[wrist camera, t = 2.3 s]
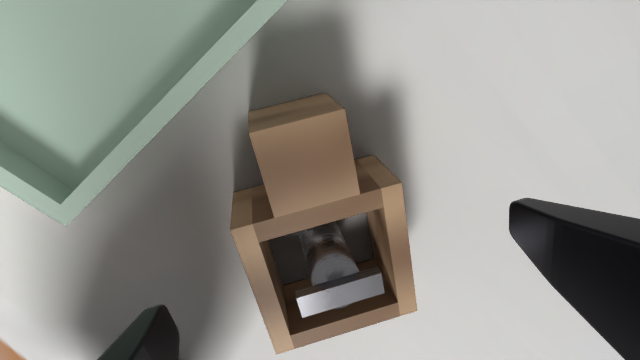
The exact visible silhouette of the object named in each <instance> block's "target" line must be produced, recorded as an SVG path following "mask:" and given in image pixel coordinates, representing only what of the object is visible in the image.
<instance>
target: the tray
mask: <svg viewBox="0 0 640 360" xmlns="http://www.w3.org/2000/svg"><path fill="white" fill-rule="evenodd" d="M286 1H287V0H0V186H1V187H2V188H4V189H5V190H7V191H9V192H10V193H12V194H13V195H15V196H17V197H18V198H20V199H22V200H23V201H25V202H26V203H28V204H30V205H31V206H33V207H35V208H36V209H38V210H39V211H41V212H43V213H44V214H46V215H47V216H49V217H51V218H52V219H54V220H56V221H57V222H59V223H60V224H62V225H64V226H65V227H66V226H67V225H68V224H69V223H70V222H71V221H72V220H73V219H74V218H75V217H76V216H77V215H78V214H79V213H80V212H81V211H82V210H83V209H84V208H85V207H86V206H87V205H88V204H89V203H90V202H91V201H92V200H93V199H94V198H95V197H96V196H97V195H98V194H99V193H100V192H101V191H102V190H103V189H104V188H105V187H106V186H107V184H108V183H109V182H110V181H111V180H112V179H113V178H114V177H115V176H116V175H117V174H118V173H119V172H120V171H121V170H122V169H123V168H124V167H125V166H126V165H127V164H128V163H129V162H130V161H131V160H132V159H133V158H134V157H135V156H136V155H137V154H138V153H139V152H140V151H141V150H142V149H143V148H144V147H145V146H146V145H147V144H148V143H149V142H150V140H151V139H152V138H153V137H154V136H155V135H156V134H157V133H158V132H159V131H160V130H161V129H162V128H163V127H164V126H165V125H166V124H167V123H168V122H169V121H170V120H171V119H172V118H173V117H174V116H175V115H176V114H177V113H178V112H179V111H180V110H181V109H182V108H183V107H184V106H185V105H186V104H187V103H188V102H189V101H190V100H191V99H192V98H193V96H194V95H195V94H196V93H197V92H198V91H199V90H200V89H201V88H202V87H203V86H204V85H205V84H206V83H207V82H208V81H209V80H210V79H211V78H212V77H213V76H214V75H215V74H216V73H217V72H218V71H219V70H220V69H221V68H222V67H223V66H224V65H225V64H226V63H227V62H228V61H229V60H230V59H231V58H232V57H233V56H234V55H235V53H236V52H237V51H238V50H239V49H240V48H241V47H242V46H243V45H244V44H245V43H246V42H247V41H248V40H249V39H250V38H251V37H252V36H253V35H254V34H255V33H256V32H257V31H258V30H259V29H260V28H261V27H262V26H263V25H264V24H265V23H266V22H267V21H268V20H269V19H270V18H271V17H272V16H273V15H274V14H275V13H276V12H277V11H278V9H279V8H280V7H281V6H282V5H283V4H284V3H285V2H286Z"/></svg>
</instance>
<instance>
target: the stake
mask: <svg viewBox="0 0 640 360" xmlns="http://www.w3.org/2000/svg"><path fill="white" fill-rule="evenodd" d="M300 240H301V244H302V248H303V252H304V256H305V260H306V264H307V268H308V272H309V276H310V280H311V284H312V286H310V287H307V288H303V289H300V290H297V291H295V294H296V299H297V302H298V306H299V309H300V312H301V315H302V318H304V317H307V316H310V315H314V314H317V313H320V312H324V311H327V310H330V309H337V308H343V307H346V306H348V305H350V304H352V303H353V302H357V301H360V300H363V299H366V298H370V297H373V296H376V295H380V294H383V293H385V292H384V286H383V280H382V274H381V272H380V270H379V268H378V267H374V268H371V269H367V270H364V271H361V272H359V270H358V267H357V265H356V263H355V261H354V259H353V257H352V254H351V252H350V250H349V248H348V246H347V244H346V241H345V239H344V237H343V235H342V233H341V231H340V228H339V226H338V224H337V223H336V221H333V222H330V223H326V224H323V225H319V226H316V227H312V228H308V229H305V230H301V231H300Z"/></svg>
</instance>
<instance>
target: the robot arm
mask: <svg viewBox="0 0 640 360" xmlns="http://www.w3.org/2000/svg"><path fill="white" fill-rule="evenodd" d="M509 231H510V234H511V236H512V237H513V239H514V240H515V241H516V243H517V244H518V245H519V246H520V247H521V249H522V250H523V251H524V252H525V254H526V255H527V256H528V257H529V259H530V260H531V261H532V262H533V264H534V265H535V266H536V267H537V269H538V270H539V271H540V272H541V273H542V275H543V276H544V277H545V278H546V279H547V281H548V282H549V283H550V284H551V285H552V286H553V287H554V288H555V289H556V290H557V291H558V292H559V293H560V294H561V295H562V296H563V297H564V298H565V299H566V300H567V302H568V303H569V304H570V305H571V306H572V307H573V308H574V309H575V310H576V311H577V312H578V313H579V314H580V315H581V316H582V317H583V318H584V319H585V320H586V321H587V322H588V323H589V324H590V325H591V326H592V327H593V328H594V329H595V330H596V331H597V332H598V333H599V334H600V335H601V336H602V337H603V338H604V339H605V340H606V341H607V342H608V343H609V344H610V345H611V346H612V347H613V348H614V349H615V350H616V351H617V352H618V353H619V354H620V355H621V356H622V357H623V358H624V359H625V360H640V219H637V218H632V217H627V216H622V215H616V214H611V213H606V212H600V211H595V210H590V209H585V208H579V207H574V206H569V205H563V204H558V203H553V202H547V201H542V200H537V199H532V198H523V199H520V200H516V201H513V202H512V203H511V204H510V207H509ZM97 360H179V332H178V329H177V326H176V324H175V323H174V321H173V319H172V317H171V315H170V313H169V311H168V309H167V307H166V306H165V305H157V306H154V307H151V308H147V309H145V310H144V311H143V312H142V313H141V314H140V315H139V316H138V317H137V319H136V320H135V321H134V322H133V323H132V324H131V325H130V326H129V327H128V328H127V329H126V330H125V331H124V332H123V333H122V334H121V335H120V336H119V337H118V338H117V340H116V341H115V342H114V343H113V344H112V345H111V346H110V347H109V348H108V349H107V350H106V351H105V352H104V353H103V354H102V355H101V356H100V357H99V358H98V359H97Z"/></svg>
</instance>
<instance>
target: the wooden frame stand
mask: <svg viewBox="0 0 640 360" xmlns="http://www.w3.org/2000/svg"><path fill="white" fill-rule="evenodd" d="M248 123H249V136H250V139H251V143H252V146H253V149H254V152H255V156H256V159H257V162H258V166H259V169H260V172H261V176H262V179H263V182H264V184H263V185H259V186H255V187H252V188H248V189H244V190H240V191H237V192H233V202H232V214H231V226H230V231H231V234H232V237H233V239H234V242H235V245H236V247H237V250H238V253H239V255H240V258H241V261H242V264H243V266H244V269H245V272H246V274H247V277H248V280H249V282H250V285H251V288H252V290H253V293H254V296H255V298H256V301H257V304H258V307H259V309H260V312H261V315H262V317H263V320H264V323H265V325H266V328H267V331H268V333H269V336H270V339H271V341H272V344H273V347H274V350H275V352H276V354H280V353H283V352H286V351H289V350H292V349H296V348H299V347H302V346H305V345H308V344H312V343H315V342H318V341H321V340H325V339H328V338H331V337H334V336H337V335H341V334H344V333H347V332H350V331H354V330H357V329H360V328H363V327H366V326H370V325H373V324H376V323H379V322H382V321H386V320H389V319H392V318H395V317H399V316H402V315H405V314H408V313H411V312H415V311H417V304H416V296H415V288H414V279H413V271H412V263H411V255H410V246H409V238H408V230H407V222H406V213H405V205H404V197H403V189H402V182H401V181H400V180H399V179H398V178H397V177H396V176H395V175H394V174H393V173H392V172H391V171H390V170H389V169H388V168H387V167H386V166H385V165H384V164H383V163H382V162H381V161H380V160H379V159H378V158H377V157H376V156H375V155H371V156H367V157H364V158H360V159H356V160H354V157H353V151H352V145H351V140H350V134H349V129H348V123H347V118H346V112H345V108H343V107H342V106H341V105H340V104H339V103H337V102H336V101H335V100H334V99H332V98H331V97H330V96H329V95H328V94H326V93H322V94H318V95H314V96H310V97H306V98H302V99H298V100H294V101H290V102H286V103H282V104H278V105H274V106H270V107H266V108H262V109H258V110H254V111H250V112H248ZM365 212H366V215H367V221H368V226H369V232H370V238H371V243H372V249H373V255H374V259H373V260H369V261H366V262H362V263H359V264H356V265H357V267H358V270H359V272H361V271H364V270H367V269H371V268H374V267H378V268H379V270H380V272H381V274H382V280H383V286H384V292H385V293H383V294H380V295H376V296H373V297H370V298H366V299H363V300H360V301H357V302H353V303H352V304H350V305H348V306H346V307H343V308H337V309H330V310H327V311H324V312H320V313H317V314H314V315H310V316H307V317H304V318H302V315H301V312H300V309H299V306H298V302H297V299H296V294H295V291H297V290H300V289H303V288H307V287H310V286H312V284H311V280H310V278H308V279H305V280H301V281H298V282H294V283H291V284H288V285H284V286H283V284H282V281H281V278H280V275H279V272H278V268H277V265H276V262H275V259H274V256H273V253H272V250H271V247H270V244H269V241H268V240H269V239H273V238H277V237H280V236H284V235H287V234H291V233H294V232H298V231H301V230H305V229H308V228H312V227H316V226H319V225H323V224H326V223H330V222H333V221H337V220H340V219H344V218H347V217H351V216H355V215H358V214H362V213H365Z"/></svg>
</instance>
